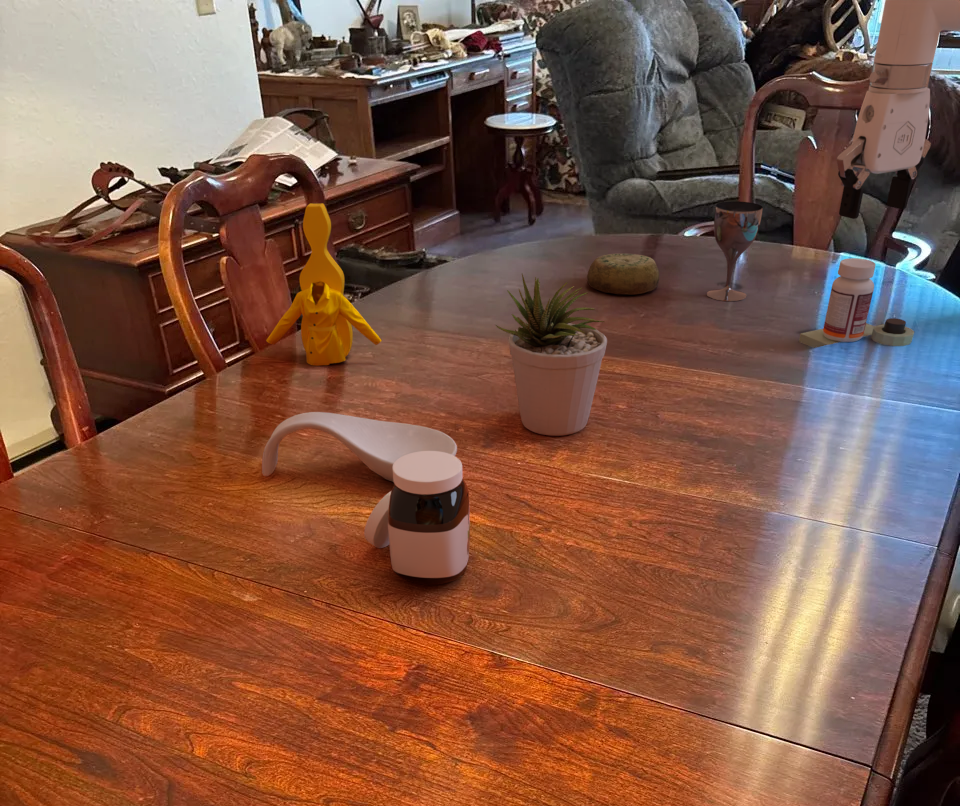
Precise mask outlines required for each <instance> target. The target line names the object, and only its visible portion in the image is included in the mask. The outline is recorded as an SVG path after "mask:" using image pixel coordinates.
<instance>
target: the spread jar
mask: <svg viewBox="0 0 960 806" xmlns="http://www.w3.org/2000/svg"><path fill="white" fill-rule="evenodd" d="M392 469H393V482H392V483H393V485H392V487H391V490H390V491H389V492H388V493H386V494H385V495H384V496H383V497H382V498H381V499H380V500H379V501H378V502H377V504H376V505H375V506H374V508H373V509H372V511H371V513H370V514H369V516H368V518H367V520H366V524H365V526H364V530H363V531H364V533H363V535H364V538H365V541H367V542H368V543H369V544H371V545H372V546H374V547H375V548H377V549H384V548H386V547H388V546H389V555H390V556H389V557H390V564H391V568H392V570H393V572H394V574H396V576H398V577H399V578H401V579H404V580H406V581H408V582H410V583H412V584H413V583H414V584H417V585H422V586H439V585H445V584H448V583H450V582H453V581H455V580H457V579H459V578H461V577H462V575H463V574H464V573H465V572H466V569H467V567H468V565H469V564H468V563H469V557H470V545H471V521H470V519H471V516H470V515H471V514H470V493H469V488H468V485H467V483H466V481H465V479H464V478H463V475H464V474H463V462H462V461H461V459H460V458H459V457H457V456H456V455H455V456H453V455H451V454H448V453H445V452H439V451H420V452H414V453H410V454H407V455H404V456H402V457H400V458H399V459H397V460H396V461H395V462H394V464H393V467H392Z"/></svg>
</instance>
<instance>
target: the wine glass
mask: <svg viewBox="0 0 960 806" xmlns="http://www.w3.org/2000/svg"><path fill="white" fill-rule="evenodd" d="M763 209H764V208H763V205H761V204H758V203H754V202H749V201H738V200H737V201H736V200H735V201H734V200H733V201H723V202H722V201H721V202H718V203H717V204H715V209H714V217H713V218H714V219H713V232H714V239H715V242H716V244H717V245H718V248H720V250H721V252H722V254H723V255H724V257H725V259H726V264H727V266H726V269H727V270H726V280H725V281H726V282H725V286H724V287H723V288H714V289H711V290H709V291H707V292H706V296H707V297H708V298H710V299H713V300H717V301H723V302H737V301H742V300H744V299H745V300H746V298H747V294H746V293H745V292H743V291H740V290H738V289H732V288H731V284H732V283H731V282H732V276H733V273H734V268H735V265H736V262H737V261H738V259H739V257H741V255H742V254H743V253H744V252H746V250H747V249H748V248H749V247H751V246H752V244H753V243H754V241H755V239H756V237H757V234H758V232H759V229H760V225H761V220H762V216H763Z"/></svg>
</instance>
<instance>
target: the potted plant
mask: <svg viewBox="0 0 960 806" xmlns="http://www.w3.org/2000/svg"><path fill="white" fill-rule="evenodd" d="M521 278H522V284H523V290H524V296H525V298H524V297H523V295H522V291H521V290H520V288H518V293H519V295H520V298H521V301H522V303H523V305H524V306H523V305H522V304H521V303H520V301H519V300H518V299H517V298H516V297H515V296H514V295H513V294H512V293H511V292H510V291H509V290H507V293H508V295H509V296H510V298H511V299H512V300H513V302H514V304H515V306H516V307H517V309H518V312H520V314H521V316H522V318H524V320H525V321H526V322H525V321H523V320H522V319H521V318H520V317H518V316H516V315H514V314H513V313H511V316H512V318H513V319H514V320H515V322H516V323H518V325H519V327H518V328H517V329H515V330H512V329H506V328H503V327H500V326H499V325H497V324H495V327H496V328H497V329H499V330H501V331H503V332H505V333H507V334H509V337H508V338H507V340H508V348H509V349H508V350H509V354H510V356H511V360H512V368H513V375H514V381H515V389H516V394H517V395H516V396H517V402H518V408H519V409H518V410H519V416H520V420H521V423H522V425H523V426H524V428H525V429H527V430H529V431H530V432H532V433H535V434H539V435H543V436H545V435H546V436H553V437H559V436H561V437H563V436H567V435H572V434H575V433H578V432H581V430H583V429H584V428H585V427H586V426H587V424H588V421H589V418H590V414H591V410H592V406H593V402H594V397H595V393H596V388H597V385H598V379H599V375H600V372H601V371H600V370H601V366H602V361H603V358H604V357H605V355H606V349H607V344H608V338H607V336H605V334H604V333H602V332H601V331H599V330H598V329H596V328H595V327H593V326H591V325H589V324H591V323H605V322H606V321H605V320H597V319H594V318H590V317H583V316H571V315H572V314H574V313H575V312H579V311H594V310H596V309H595V308H593V307H586V306H585V307H576V308H573V309H570V310H568V309H569V308H570V306H572V305H573V303H574V302H576V300H578V299H579V298H581V297H582V296H585V295H586V294H588V292H584V293H581V294H579V293H580V290H582V289H583V287H580V288H577V289H575V290H574V291H573V292H571V293H570V294H568V295H567V296H566V294H567V293H568V292H569V291H571V290H572V289H573V288H574V287H575V286H574V285H573V286H571V287H569V288H567V289H565V290H564V291H563V292H561V291H562V290H563V288H564V287H565V286H566V285H567V284H568V282H567V281H566V282H565V283H564V284H563V285H561V287H559V288H558V290H557V291H556V292H555V293H554V295H553V296H552V298H551V297H549V299H548V301H547V303H546V305H545V308H544V305H543V303H542V297H541V292H540V287H541V282H540V279H539V277H536V276H534V285H533V297H532V296H531V294H530V290H529V288H528V286H527V283H526V280H525V277H524V274H523V273H521ZM560 292H561V294H560ZM578 294H579V295H578ZM576 295H577V296H576ZM565 296H566V297H565ZM564 297H565V298H564ZM563 298H564V299H563ZM577 321H583V322H579V323H576V324H575V323H573V322H577Z"/></svg>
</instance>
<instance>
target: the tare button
mask: <svg viewBox="0 0 960 806" xmlns="http://www.w3.org/2000/svg"><path fill="white" fill-rule="evenodd" d="M884 324H885V325H884V329H883V331H884V332H887V333H891V334H903V333H904V329H905V327H906V325H907V322H906V320H904V319H901V318H896V317H895V318H894V317H892V318H887V319H885V321H884Z"/></svg>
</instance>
